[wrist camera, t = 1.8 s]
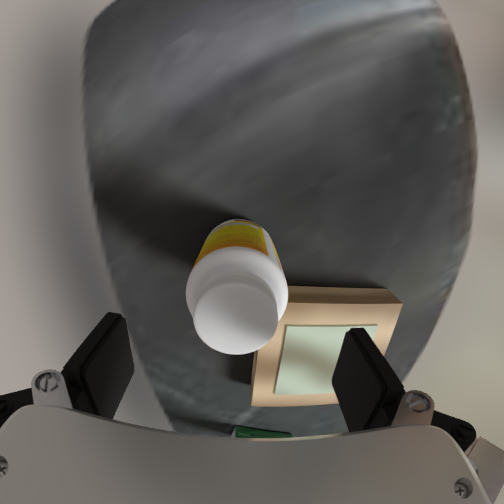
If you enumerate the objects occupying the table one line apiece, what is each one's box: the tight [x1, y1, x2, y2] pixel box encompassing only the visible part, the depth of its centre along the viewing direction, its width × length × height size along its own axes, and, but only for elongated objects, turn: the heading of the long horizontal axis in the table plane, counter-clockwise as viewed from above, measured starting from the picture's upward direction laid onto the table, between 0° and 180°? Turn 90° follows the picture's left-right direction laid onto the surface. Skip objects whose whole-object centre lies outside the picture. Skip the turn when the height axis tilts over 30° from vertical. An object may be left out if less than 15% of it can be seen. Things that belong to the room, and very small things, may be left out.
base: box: [251, 286, 402, 406], centre depth 24 cm, size 12×12×3 cm
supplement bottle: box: [186, 219, 288, 355], centre depth 17 cm, size 6×6×10 cm
